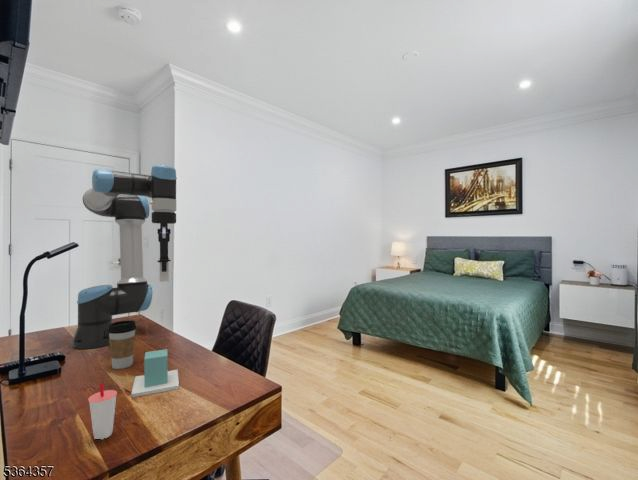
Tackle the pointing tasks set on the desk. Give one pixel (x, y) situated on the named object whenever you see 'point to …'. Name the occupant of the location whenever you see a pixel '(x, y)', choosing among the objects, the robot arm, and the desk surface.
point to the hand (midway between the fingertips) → (164, 281)
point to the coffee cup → (122, 343)
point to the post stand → (141, 390)
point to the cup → (102, 412)
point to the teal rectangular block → (155, 368)
